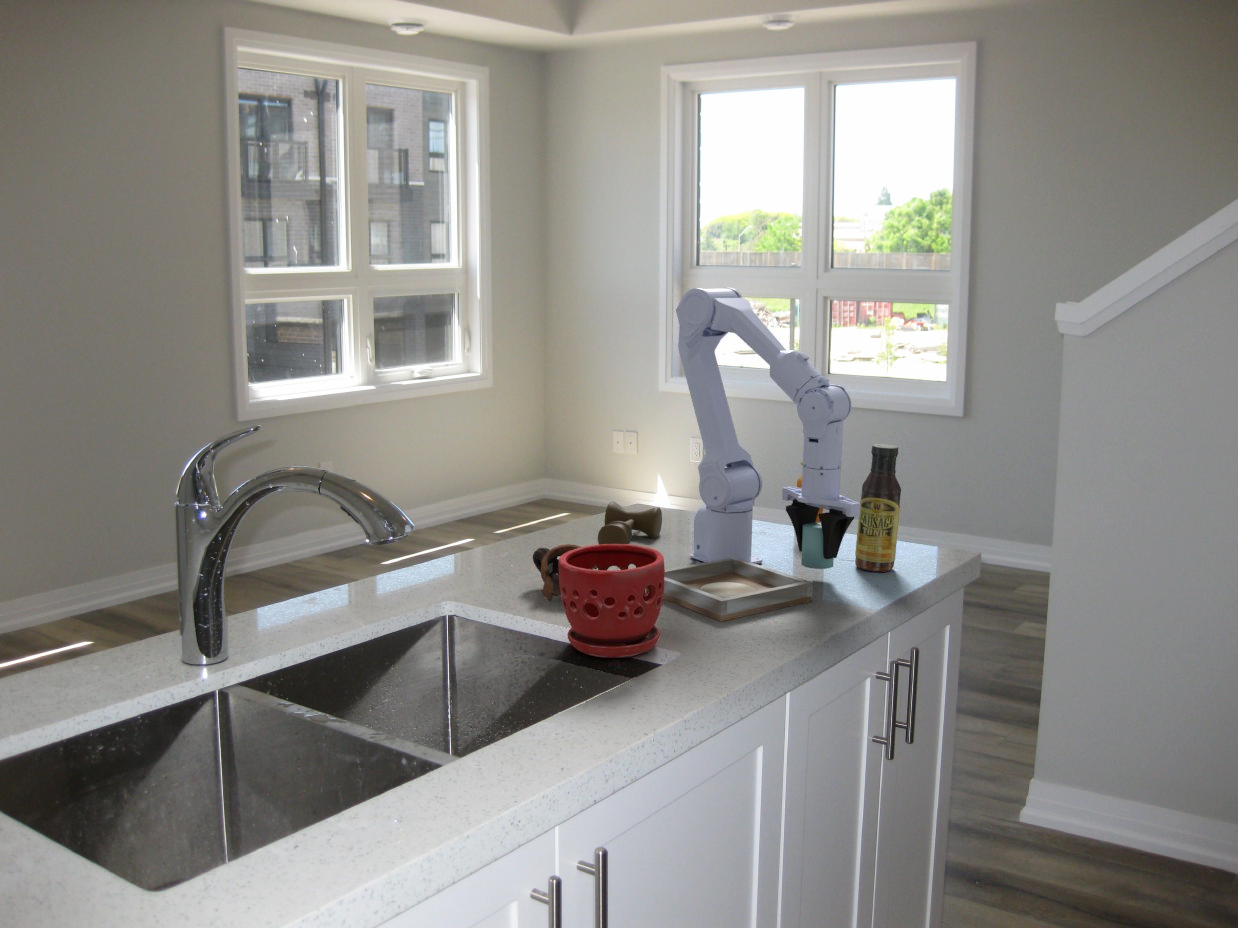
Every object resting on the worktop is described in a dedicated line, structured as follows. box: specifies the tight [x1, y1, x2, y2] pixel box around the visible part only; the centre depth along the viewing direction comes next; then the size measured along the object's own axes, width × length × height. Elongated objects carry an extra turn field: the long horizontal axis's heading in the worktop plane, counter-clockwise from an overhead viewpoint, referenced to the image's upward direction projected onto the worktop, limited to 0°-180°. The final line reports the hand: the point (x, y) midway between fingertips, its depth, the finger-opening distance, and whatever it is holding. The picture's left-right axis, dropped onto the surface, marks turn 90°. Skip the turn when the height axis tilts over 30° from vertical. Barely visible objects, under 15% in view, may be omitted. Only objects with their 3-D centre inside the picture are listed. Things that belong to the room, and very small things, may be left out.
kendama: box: [597, 501, 663, 545], centre depth 200 cm, size 6×10×20 cm
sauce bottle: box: [854, 443, 902, 573], centre depth 182 cm, size 7×6×20 cm
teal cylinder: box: [800, 522, 835, 570], centre depth 175 cm, size 5×5×6 cm
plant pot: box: [559, 543, 666, 659], centre depth 143 cm, size 13×13×12 cm
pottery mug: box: [532, 543, 598, 602], centre depth 168 cm, size 12×10×8 cm
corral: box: [645, 557, 813, 622], centre depth 167 cm, size 17×17×3 cm
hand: (817, 554), depth 175 cm, fingers closed on teal cylinder, 5 cm apart
